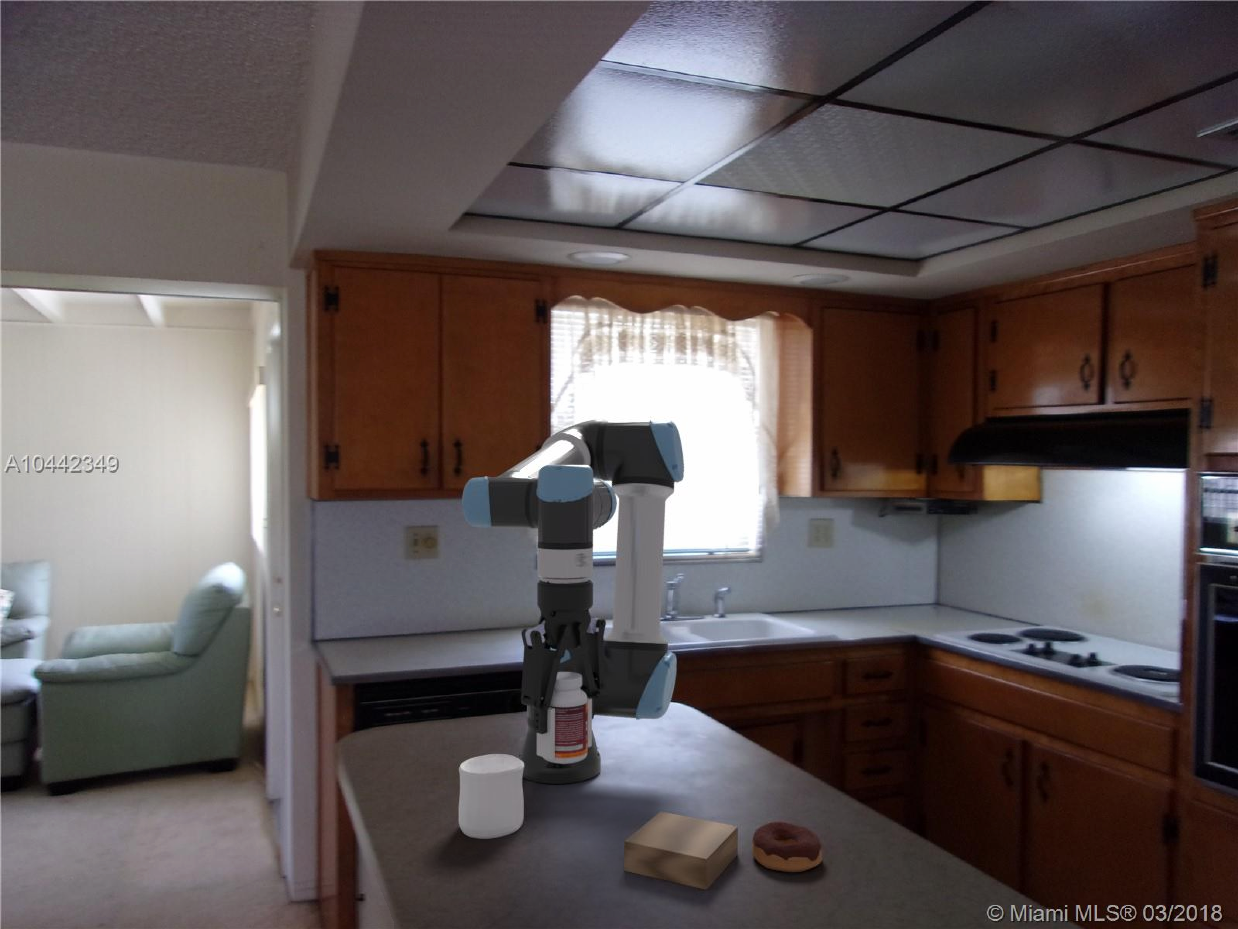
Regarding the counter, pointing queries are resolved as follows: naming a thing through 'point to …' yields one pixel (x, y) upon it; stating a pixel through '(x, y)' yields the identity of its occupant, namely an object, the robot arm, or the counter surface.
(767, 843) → the donut
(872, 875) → the counter surface
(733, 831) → the tan flat block
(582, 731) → the pill bottle
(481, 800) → the cup
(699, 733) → the counter surface
